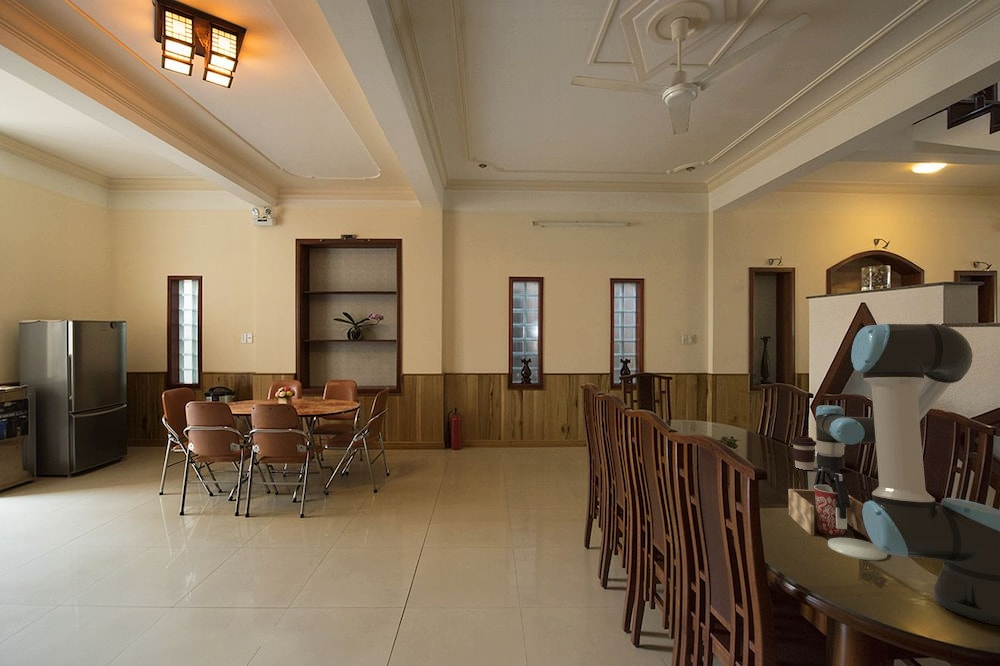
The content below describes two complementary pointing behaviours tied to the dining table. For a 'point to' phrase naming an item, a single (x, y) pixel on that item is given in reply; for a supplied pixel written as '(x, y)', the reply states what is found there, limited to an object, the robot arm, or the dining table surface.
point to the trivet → (856, 549)
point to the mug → (826, 510)
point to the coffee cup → (804, 452)
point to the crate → (805, 511)
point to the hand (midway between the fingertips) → (831, 520)
